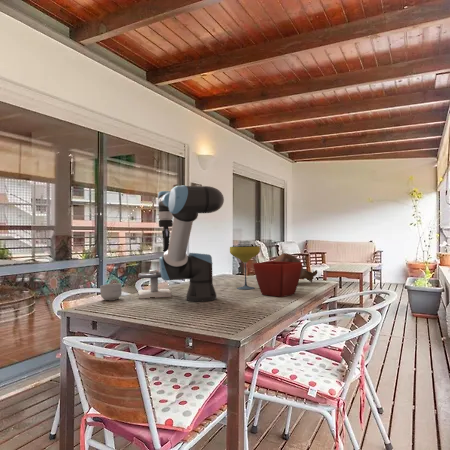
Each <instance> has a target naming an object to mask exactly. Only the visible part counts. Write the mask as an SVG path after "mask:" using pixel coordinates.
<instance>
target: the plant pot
mask: <svg viewBox="0 0 450 450" xmlns="http://www.w3.org/2000/svg"><path fill="white" fill-rule="evenodd" d="M302 266H303V262H301V261H300V262H280V261H274V260H272V261H264V262H262V261H261V262H254V263H253V270H254V273H255V274H254V276H255V279H256V282H257V284H258V287H259V290H260V292H261V295H263V296H271V297H279V298H282V297H287V296H293V295H295V294H296V291H297V289H298V288H297V287H298V284H299V282H300V279H299V278H300V274H301V268H302Z"/></svg>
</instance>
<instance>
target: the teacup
mask: <svg viewBox="0 0 450 450" xmlns="http://www.w3.org/2000/svg"><path fill="white" fill-rule="evenodd" d="M99 290H100V297H101V299H103V300H104V301H106V300H109V301H115V299H116V300H118V299H119V298H121V296H122V290H123V289H122V283H120V282H118V283H107V284H103V285H100V286H99Z"/></svg>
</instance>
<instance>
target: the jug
mask: <svg viewBox="0 0 450 450" xmlns="http://www.w3.org/2000/svg"><path fill="white" fill-rule="evenodd" d="M273 261H280V262H301V261H300V260H299V259H298V258H297V257H295V255H292V254H290V253H283V252H282V253H280V255H278V257H276V258H275V259H274V260H273ZM317 275H318V270H317V269H315V270H314V271H312V272H311V271H308V270H305V268H304V266H303V265H302V268H301V274H300V278H299V280H300V279H304V280H308V281H309V282H311V283H313V280H314V277H315V276H317Z"/></svg>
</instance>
